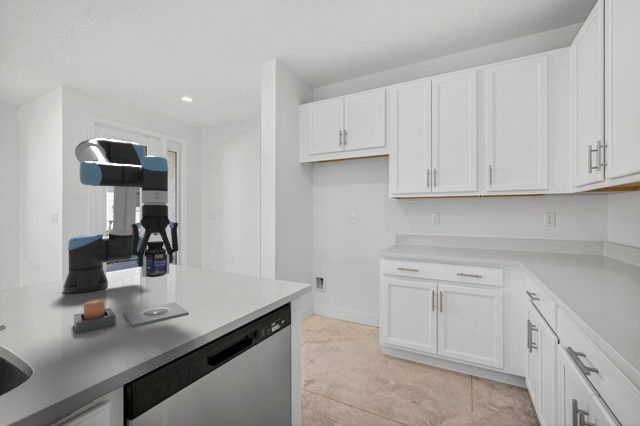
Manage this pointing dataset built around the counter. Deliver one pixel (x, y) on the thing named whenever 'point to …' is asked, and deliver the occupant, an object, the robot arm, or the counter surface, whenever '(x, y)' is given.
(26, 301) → the counter surface
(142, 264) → the robot arm
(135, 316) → the board
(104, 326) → the button housing
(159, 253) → the pill bottle
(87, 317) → the button
